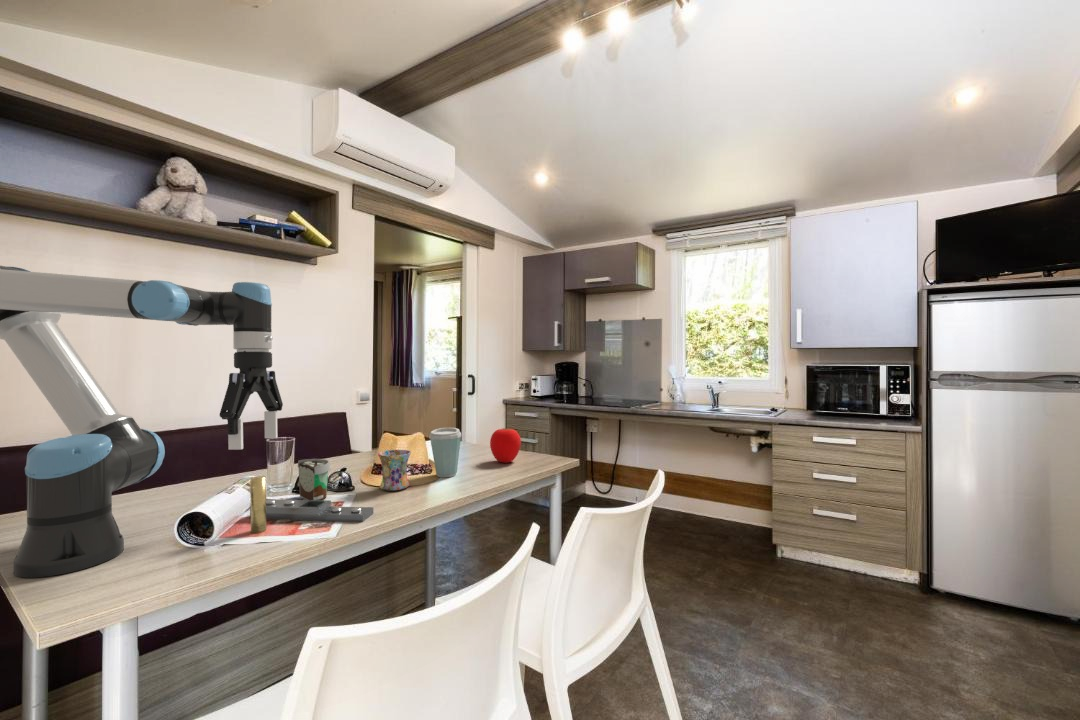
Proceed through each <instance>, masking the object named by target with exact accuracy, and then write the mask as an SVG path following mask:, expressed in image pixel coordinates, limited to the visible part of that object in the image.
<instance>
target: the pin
mask: <svg viewBox="0 0 1080 720" xmlns="http://www.w3.org/2000/svg"><path fill="white" fill-rule="evenodd" d="M266 499H267V477H266V476H265V475H257V476H254V477H251V478H250V507H251V519H250V533H251V534H259V533H264V532H265V531H267V520H266Z"/></svg>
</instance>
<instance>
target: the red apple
mask: <svg viewBox="0 0 1080 720" xmlns="http://www.w3.org/2000/svg"><path fill="white" fill-rule="evenodd" d="M489 440H490V441H489V448H490V451H491V453H492V456H493V458H494V459H496V461H498V462H499V463H503V464H509V463H511V462H513V461H514V460H515V459H516V457H517V456H518V454H519V452H520V449H521V445H522V439H521V436H520V434H519V433H518V431H517V430H516V429H514V428H509V427H507V426H505V428H499V429H496V430H494V432H493V433H492V434H491V436H490V439H489Z"/></svg>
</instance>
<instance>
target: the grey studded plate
mask: <svg viewBox="0 0 1080 720" xmlns="http://www.w3.org/2000/svg"><path fill="white" fill-rule="evenodd" d="M373 514H374V506H373V507H371V506H369V507H368V506H366V507H365V506H332V501H331V500H326V499H325V500H306V499H274V498H273V499H270V498H269V499H268V498H266V521H267V520H268V521H270V520H271V521H273V520H274V521H305V522H306V521H316V522H350V523H351V522H355V523H357V522H359V523H363V522H365V521H366V520H367V519H369V518H370V516H372V515H373ZM249 519H250V520H251V506H249Z"/></svg>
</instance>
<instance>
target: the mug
mask: <svg viewBox="0 0 1080 720" xmlns="http://www.w3.org/2000/svg"><path fill="white" fill-rule="evenodd" d="M411 453H412V452H411V450H408V449H389V450H384V451H380V452H378V453H377V455H378V457H379V460H380V463H381V467H382V479H381V482H380V484H379V488H380V489H381V490H383V491H402V490H405V489H406V488H408V487H409V486H410V481H409V479H408V476H407V475H408V474H407V466H408V461H409V458H410V455H411Z"/></svg>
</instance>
